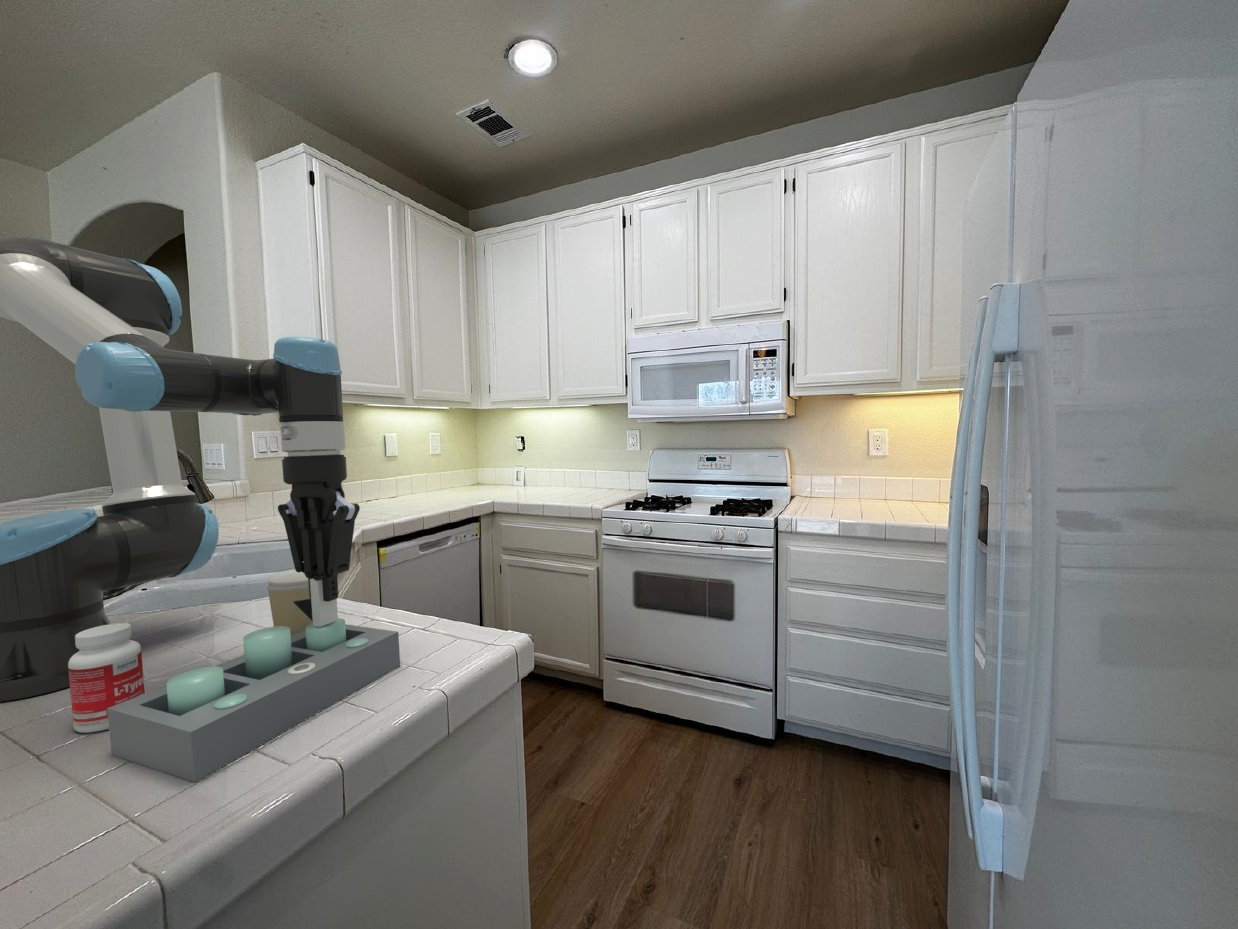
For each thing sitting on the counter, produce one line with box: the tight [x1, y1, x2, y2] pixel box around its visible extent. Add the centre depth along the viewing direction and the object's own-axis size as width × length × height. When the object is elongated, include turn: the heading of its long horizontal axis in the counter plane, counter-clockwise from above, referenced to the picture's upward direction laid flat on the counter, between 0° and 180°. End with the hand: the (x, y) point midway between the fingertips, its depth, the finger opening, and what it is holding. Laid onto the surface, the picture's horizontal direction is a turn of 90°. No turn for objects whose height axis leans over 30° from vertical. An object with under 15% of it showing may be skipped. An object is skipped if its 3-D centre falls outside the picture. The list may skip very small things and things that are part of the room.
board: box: [107, 623, 401, 784], centre depth 63 cm, size 14×26×5 cm, turn 159°
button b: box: [242, 626, 293, 680], centre depth 64 cm, size 5×5×5 cm
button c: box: [305, 617, 346, 652], centre depth 71 cm, size 5×5×5 cm
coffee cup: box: [266, 569, 313, 636], centre depth 80 cm, size 9×9×12 cm
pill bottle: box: [68, 622, 146, 734], centre depth 61 cm, size 6×6×11 cm
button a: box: [165, 665, 225, 716], centre depth 56 cm, size 5×5×5 cm
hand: (325, 622), depth 71 cm, fingers closed
